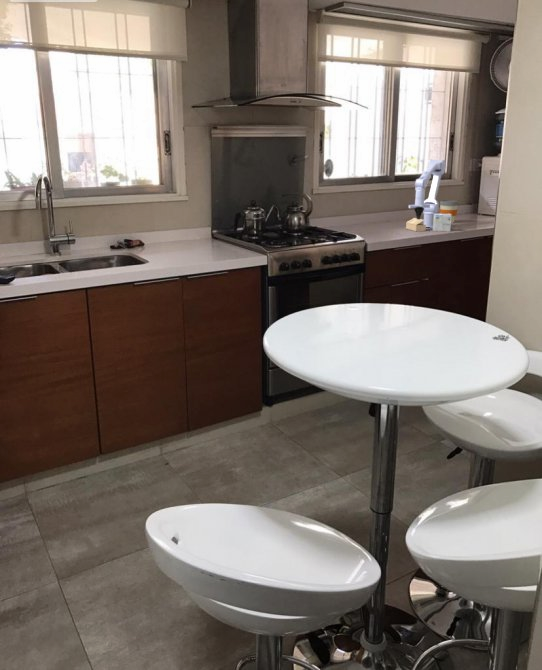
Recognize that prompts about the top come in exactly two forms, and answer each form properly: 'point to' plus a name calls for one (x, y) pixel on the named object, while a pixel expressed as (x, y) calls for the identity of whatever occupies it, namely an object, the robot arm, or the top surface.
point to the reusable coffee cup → (449, 208)
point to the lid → (415, 221)
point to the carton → (416, 227)
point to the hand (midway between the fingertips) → (418, 219)
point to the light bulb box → (441, 222)
